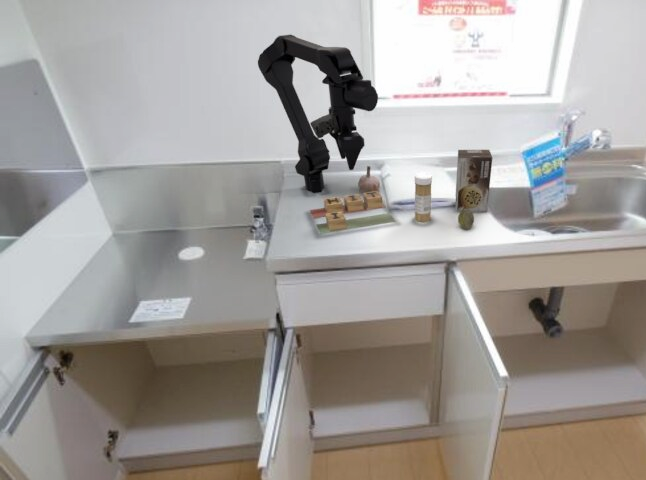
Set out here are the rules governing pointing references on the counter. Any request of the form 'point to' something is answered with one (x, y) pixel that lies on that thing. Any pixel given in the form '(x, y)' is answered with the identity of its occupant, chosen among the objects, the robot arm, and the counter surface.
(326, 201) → the tile
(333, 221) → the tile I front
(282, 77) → the robot arm
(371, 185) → the garlic bulb
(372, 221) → the letter board
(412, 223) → the counter surface
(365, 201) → the tile
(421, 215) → the sprinkles bottle
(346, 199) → the tile
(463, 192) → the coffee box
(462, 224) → the lime
